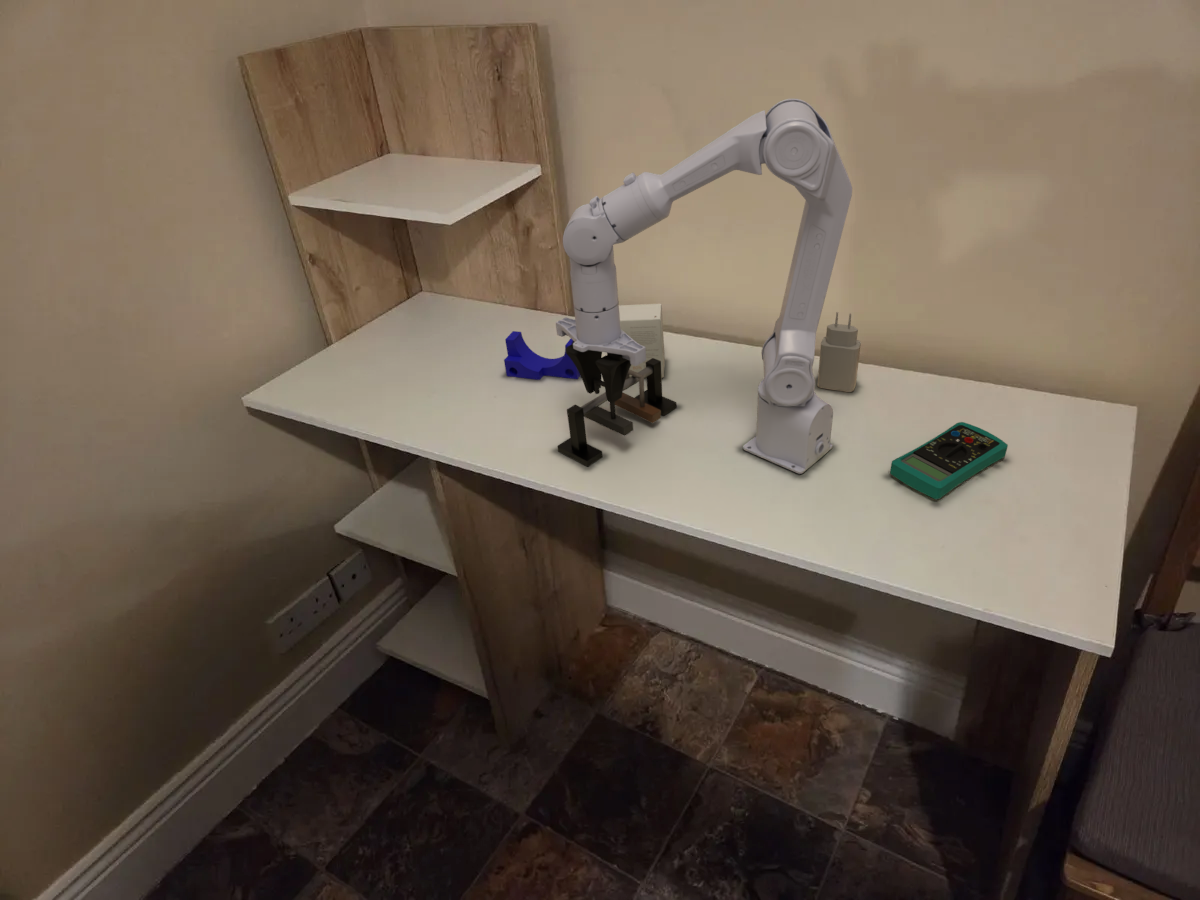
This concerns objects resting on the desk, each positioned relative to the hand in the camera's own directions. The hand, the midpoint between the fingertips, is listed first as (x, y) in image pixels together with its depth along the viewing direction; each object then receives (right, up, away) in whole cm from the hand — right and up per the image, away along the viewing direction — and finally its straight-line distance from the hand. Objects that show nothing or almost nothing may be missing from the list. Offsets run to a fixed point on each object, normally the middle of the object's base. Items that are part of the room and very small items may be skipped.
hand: (604, 394), depth 110 cm
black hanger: (0, -4, +3) cm, 5 cm away
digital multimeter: (+44, -10, -5) cm, 46 cm away
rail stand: (+2, -4, +8) cm, 9 cm away
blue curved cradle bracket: (-10, +5, +23) cm, 25 cm away
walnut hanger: (+5, -2, +9) cm, 11 cm away
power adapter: (+35, +5, +10) cm, 37 cm away
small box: (+6, +5, +21) cm, 23 cm away
